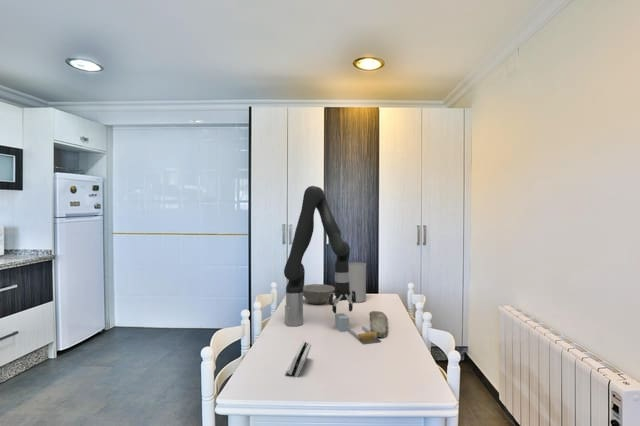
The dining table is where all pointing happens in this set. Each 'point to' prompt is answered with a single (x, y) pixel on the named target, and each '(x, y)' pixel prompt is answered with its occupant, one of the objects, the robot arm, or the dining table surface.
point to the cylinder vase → (357, 280)
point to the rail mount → (365, 336)
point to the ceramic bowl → (317, 293)
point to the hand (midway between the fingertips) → (342, 312)
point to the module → (341, 322)
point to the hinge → (299, 359)
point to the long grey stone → (378, 323)
